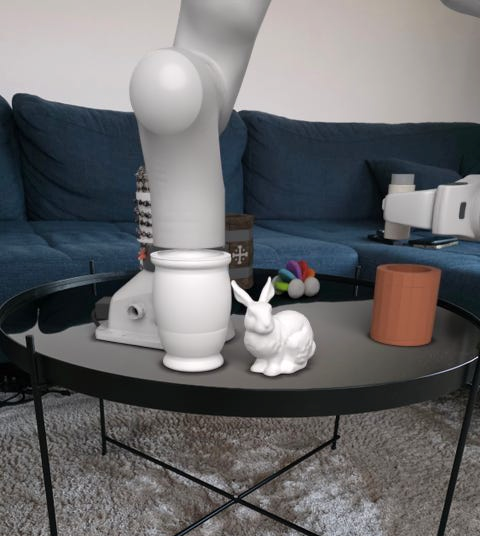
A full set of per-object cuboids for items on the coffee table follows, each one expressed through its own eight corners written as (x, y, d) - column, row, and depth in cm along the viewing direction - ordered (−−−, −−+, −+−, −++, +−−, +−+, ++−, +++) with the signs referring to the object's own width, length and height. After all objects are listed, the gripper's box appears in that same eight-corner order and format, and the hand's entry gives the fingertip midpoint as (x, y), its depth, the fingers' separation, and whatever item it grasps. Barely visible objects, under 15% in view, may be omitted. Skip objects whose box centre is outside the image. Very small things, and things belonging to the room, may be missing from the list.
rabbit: (262, 383, 76) (264, 289, 71) (219, 365, 82) (218, 277, 78) (329, 366, 82) (335, 278, 78) (284, 350, 89) (288, 268, 84)
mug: (247, 279, 142) (248, 213, 136) (260, 290, 130) (261, 218, 124) (165, 281, 139) (162, 213, 133) (170, 293, 127) (167, 219, 121)
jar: (140, 368, 81) (133, 254, 75) (181, 348, 89) (178, 245, 83) (207, 380, 76) (205, 261, 70) (244, 359, 85) (245, 251, 79)
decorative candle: (186, 305, 116) (182, 166, 106) (138, 306, 115) (130, 165, 105) (183, 295, 125) (179, 165, 114) (138, 296, 123) (131, 165, 113)
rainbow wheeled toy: (325, 296, 125) (327, 261, 122) (289, 301, 120) (290, 265, 117) (299, 289, 131) (301, 255, 128) (264, 294, 126) (265, 259, 123)
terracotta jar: (368, 343, 93) (375, 272, 88) (371, 328, 101) (378, 262, 97) (432, 348, 91) (442, 275, 86) (429, 332, 99) (439, 265, 95)
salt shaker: (383, 239, 94) (389, 174, 90) (384, 236, 98) (390, 173, 94) (409, 239, 93) (416, 174, 89) (409, 237, 97) (416, 173, 93)
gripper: (515, 183, 89) (434, 180, 99) (441, 185, 77) (356, 182, 86) (507, 226, 92) (428, 220, 101) (434, 236, 80) (353, 228, 89)
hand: (395, 203), depth 94 cm, fingers closed on salt shaker, 4 cm apart
